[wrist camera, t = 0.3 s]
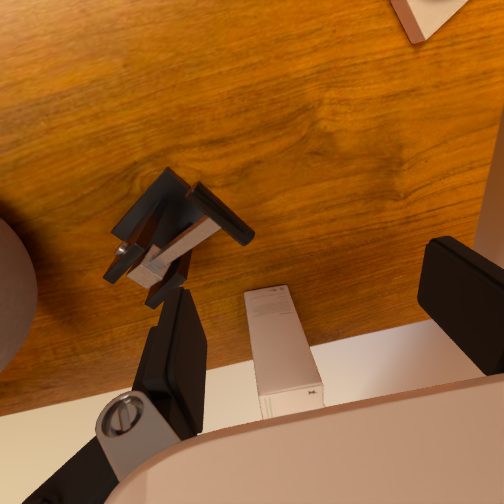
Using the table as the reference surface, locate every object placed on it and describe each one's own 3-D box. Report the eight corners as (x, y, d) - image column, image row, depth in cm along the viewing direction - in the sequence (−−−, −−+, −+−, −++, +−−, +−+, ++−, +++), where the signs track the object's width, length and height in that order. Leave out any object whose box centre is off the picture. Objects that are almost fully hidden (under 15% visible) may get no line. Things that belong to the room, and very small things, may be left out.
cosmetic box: (243, 289, 39) (255, 393, 26) (290, 282, 39) (326, 382, 26) (250, 332, 43) (264, 441, 30) (293, 326, 43) (325, 431, 30)
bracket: (167, 166, 30) (140, 204, 20) (222, 214, 33) (223, 268, 23) (113, 228, 33) (65, 289, 23) (169, 267, 36) (148, 335, 26)
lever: (204, 172, 18) (190, 194, 16) (258, 223, 20) (251, 247, 18) (125, 246, 25) (110, 266, 24) (170, 277, 27) (159, 297, 26)
